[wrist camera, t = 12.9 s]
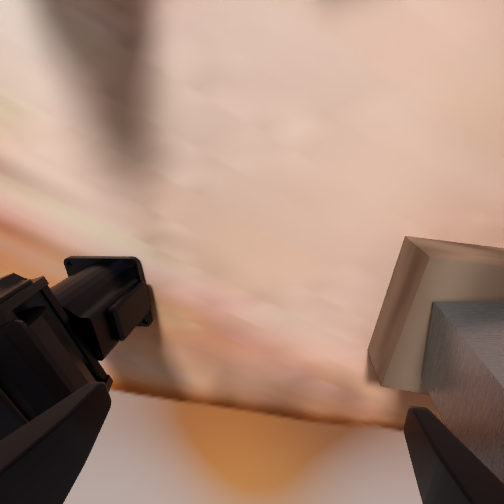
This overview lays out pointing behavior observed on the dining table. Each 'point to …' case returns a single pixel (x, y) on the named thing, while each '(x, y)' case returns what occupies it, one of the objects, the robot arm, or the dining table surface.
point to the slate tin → (469, 375)
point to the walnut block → (428, 302)
